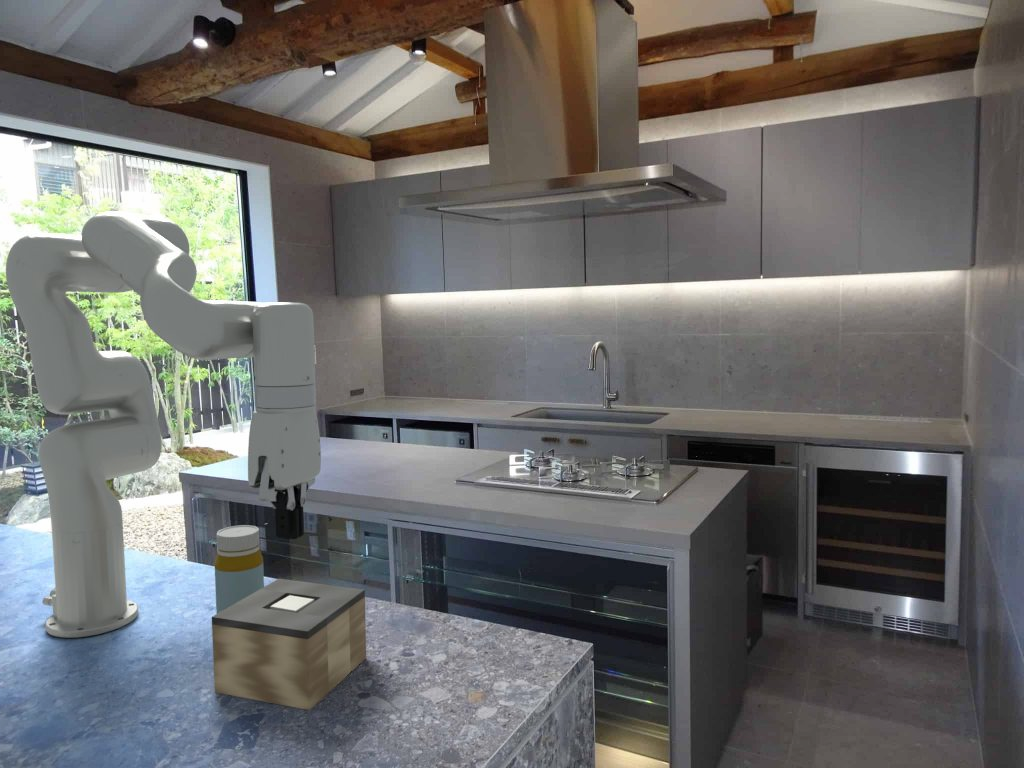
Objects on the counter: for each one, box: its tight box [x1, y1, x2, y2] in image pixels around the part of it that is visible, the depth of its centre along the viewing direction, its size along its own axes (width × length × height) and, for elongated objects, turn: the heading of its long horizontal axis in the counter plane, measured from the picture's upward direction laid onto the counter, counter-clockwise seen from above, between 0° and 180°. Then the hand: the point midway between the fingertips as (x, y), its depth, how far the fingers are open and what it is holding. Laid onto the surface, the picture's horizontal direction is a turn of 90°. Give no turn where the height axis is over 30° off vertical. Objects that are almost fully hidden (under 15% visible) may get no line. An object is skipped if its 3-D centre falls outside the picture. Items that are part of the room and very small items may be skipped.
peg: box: [270, 595, 314, 613], centre depth 96 cm, size 4×4×10 cm
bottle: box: [214, 524, 265, 614], centre depth 112 cm, size 7×7×15 cm
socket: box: [211, 578, 367, 711], centre depth 96 cm, size 14×14×10 cm
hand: (290, 536), depth 95 cm, fingers closed
